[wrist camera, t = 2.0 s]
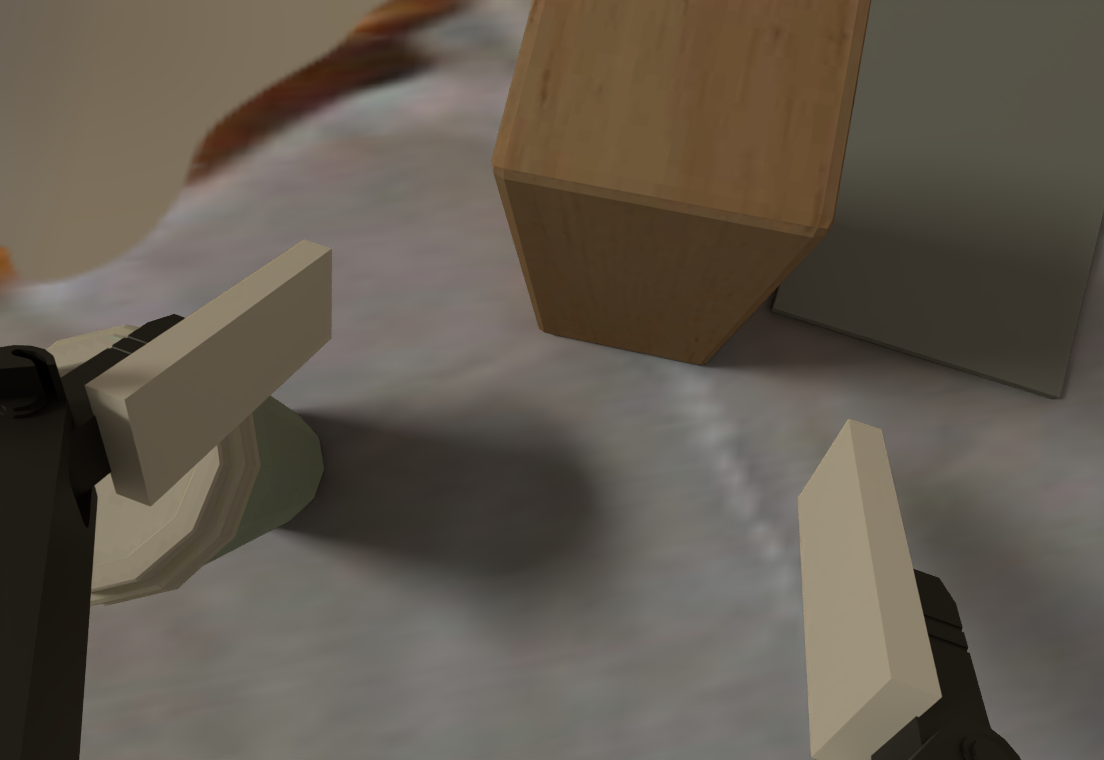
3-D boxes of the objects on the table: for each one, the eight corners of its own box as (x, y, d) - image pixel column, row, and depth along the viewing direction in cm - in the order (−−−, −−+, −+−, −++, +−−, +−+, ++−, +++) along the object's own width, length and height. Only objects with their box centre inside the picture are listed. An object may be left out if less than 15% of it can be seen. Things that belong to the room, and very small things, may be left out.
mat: (1153, -29, 40) (1162, -37, 40) (1052, 399, 36) (1060, 397, 36) (893, -93, 42) (898, -101, 41) (770, 310, 38) (773, 307, 37)
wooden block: (737, 207, 39) (890, -80, 19) (706, 368, 38) (837, 234, 18) (573, 176, 40) (561, -128, 20) (536, 332, 39) (484, 167, 19)
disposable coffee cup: (256, 346, 39) (58, 258, 24) (403, 440, 38) (287, 408, 23) (150, 499, 38) (-126, 504, 23) (298, 602, 37) (104, 678, 22)
